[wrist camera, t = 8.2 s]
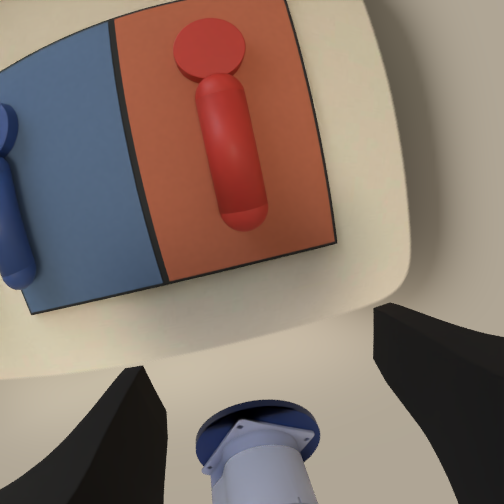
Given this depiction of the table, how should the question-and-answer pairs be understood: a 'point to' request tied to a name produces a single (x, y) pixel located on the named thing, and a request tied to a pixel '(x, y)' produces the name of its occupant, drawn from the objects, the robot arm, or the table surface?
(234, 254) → the sorting mat
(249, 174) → the red spoon
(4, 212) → the blue spoon
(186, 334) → the table surface
